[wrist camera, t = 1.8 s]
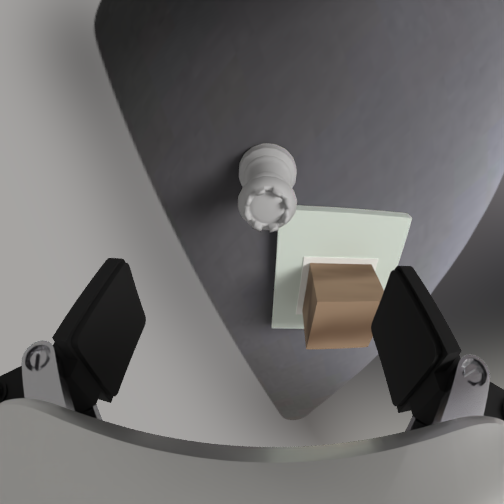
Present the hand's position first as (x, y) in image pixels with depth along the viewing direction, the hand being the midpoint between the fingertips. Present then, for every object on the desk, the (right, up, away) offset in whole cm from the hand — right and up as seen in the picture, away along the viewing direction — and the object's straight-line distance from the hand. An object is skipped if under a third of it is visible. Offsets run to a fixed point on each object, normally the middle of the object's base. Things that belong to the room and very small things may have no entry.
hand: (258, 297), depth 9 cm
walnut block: (+8, -2, +16) cm, 18 cm away
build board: (+8, -1, +17) cm, 18 cm away
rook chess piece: (+1, +8, +12) cm, 14 cm away
